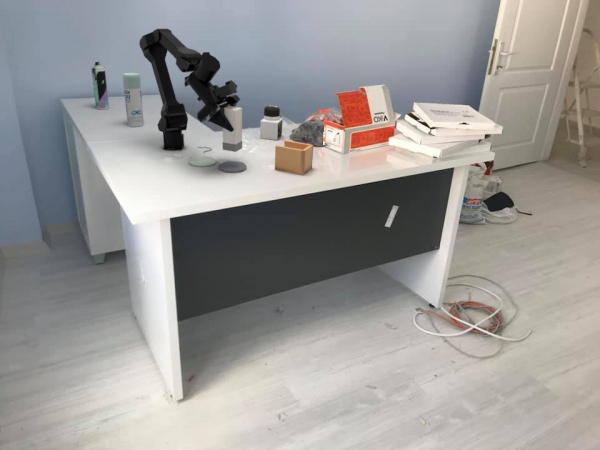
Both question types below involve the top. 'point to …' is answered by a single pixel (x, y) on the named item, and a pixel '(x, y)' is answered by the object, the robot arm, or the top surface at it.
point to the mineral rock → (309, 133)
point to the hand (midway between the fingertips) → (236, 129)
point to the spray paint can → (133, 99)
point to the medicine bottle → (271, 123)
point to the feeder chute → (294, 157)
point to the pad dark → (232, 166)
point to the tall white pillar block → (234, 139)
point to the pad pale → (202, 161)
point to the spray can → (100, 87)
